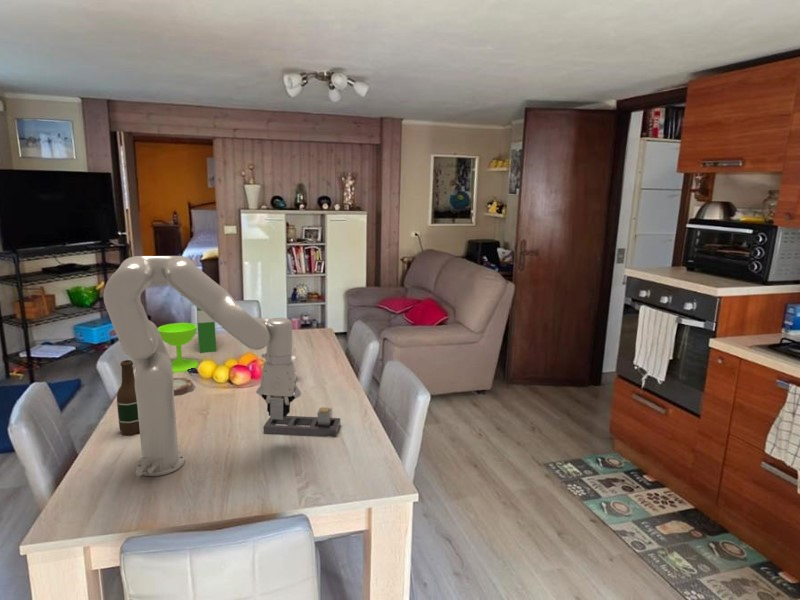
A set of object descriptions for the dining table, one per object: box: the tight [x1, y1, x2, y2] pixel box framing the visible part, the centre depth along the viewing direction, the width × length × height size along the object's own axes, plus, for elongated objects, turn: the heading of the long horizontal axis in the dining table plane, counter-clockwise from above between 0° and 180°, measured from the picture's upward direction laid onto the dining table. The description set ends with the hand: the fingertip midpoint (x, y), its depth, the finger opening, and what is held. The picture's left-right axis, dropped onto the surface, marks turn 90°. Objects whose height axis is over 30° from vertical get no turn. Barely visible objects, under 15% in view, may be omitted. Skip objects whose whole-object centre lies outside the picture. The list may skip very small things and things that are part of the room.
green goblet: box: [157, 322, 200, 374], centre depth 231 cm, size 16×16×18 cm
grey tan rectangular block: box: [317, 406, 333, 428], centre depth 174 cm, size 4×4×8 cm
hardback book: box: [195, 305, 217, 354], centre depth 258 cm, size 18×7×24 cm, turn 23°
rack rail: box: [263, 415, 341, 438], centre depth 175 cm, size 24×9×2 cm, turn 87°
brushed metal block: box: [269, 396, 285, 420], centre depth 162 cm, size 4×4×8 cm
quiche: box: [173, 377, 196, 397], centre depth 207 cm, size 21×20×4 cm
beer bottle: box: [116, 359, 140, 436], centre depth 169 cm, size 8×8×24 cm
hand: (278, 414), depth 162 cm, fingers closed on brushed metal block, 4 cm apart
